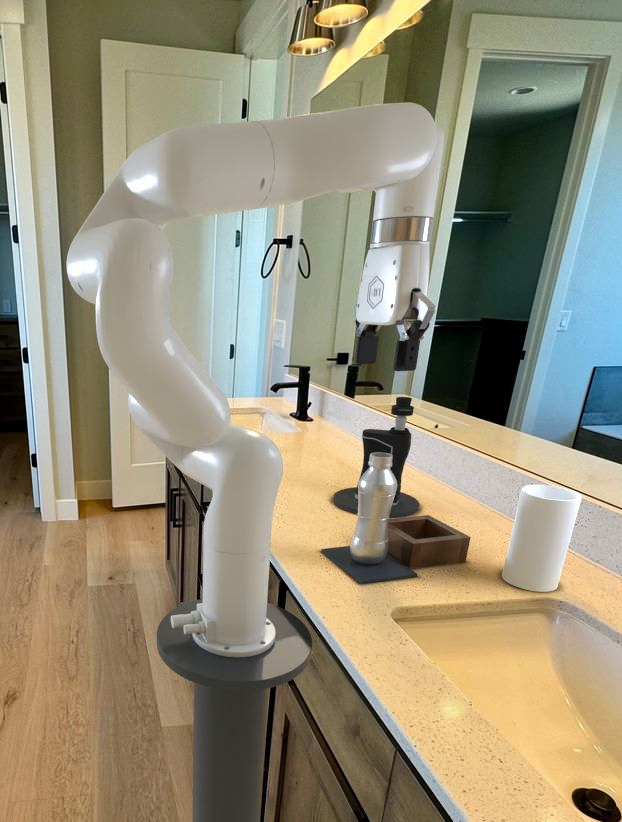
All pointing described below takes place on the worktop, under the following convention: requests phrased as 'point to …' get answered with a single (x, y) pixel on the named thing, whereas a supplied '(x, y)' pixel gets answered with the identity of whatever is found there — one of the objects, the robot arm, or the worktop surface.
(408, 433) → the vape
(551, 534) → the cup
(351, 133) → the robot arm
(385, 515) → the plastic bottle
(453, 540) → the brown wooden box
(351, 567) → the mat
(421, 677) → the worktop surface
